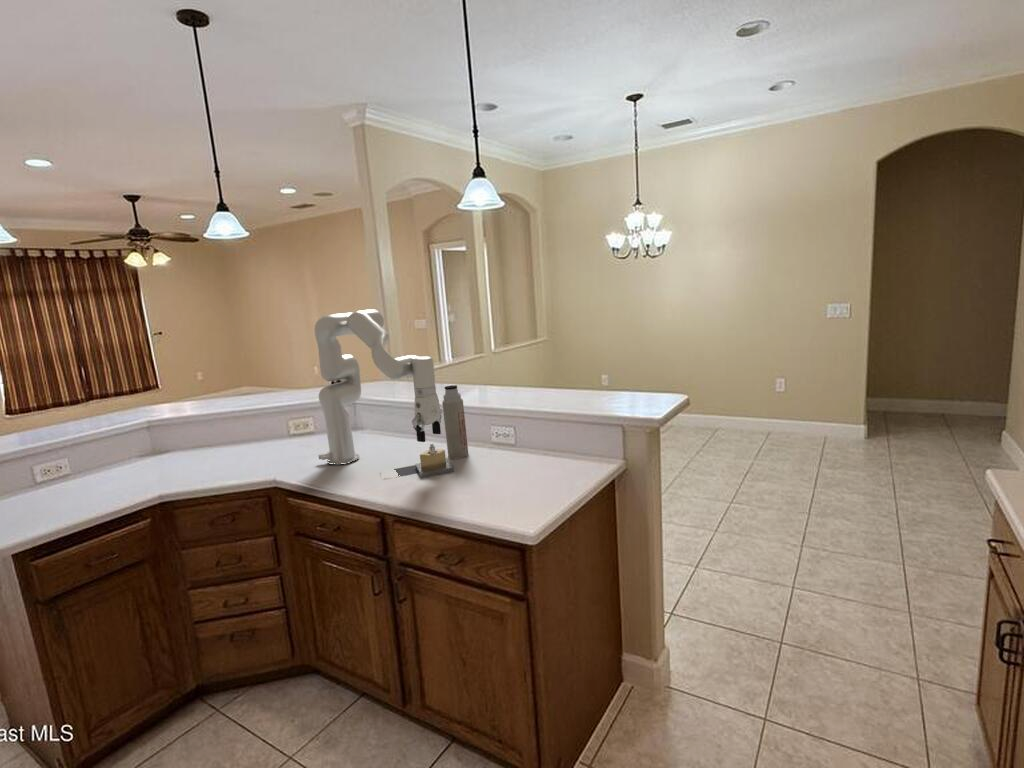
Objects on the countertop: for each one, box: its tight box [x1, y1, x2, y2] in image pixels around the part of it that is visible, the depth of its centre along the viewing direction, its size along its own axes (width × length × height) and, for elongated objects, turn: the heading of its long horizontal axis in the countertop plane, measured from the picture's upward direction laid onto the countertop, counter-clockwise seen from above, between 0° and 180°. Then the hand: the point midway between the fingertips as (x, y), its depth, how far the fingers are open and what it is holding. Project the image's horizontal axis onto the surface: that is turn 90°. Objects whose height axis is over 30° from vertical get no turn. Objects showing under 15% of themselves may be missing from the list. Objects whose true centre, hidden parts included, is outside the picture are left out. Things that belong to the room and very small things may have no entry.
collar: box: [419, 448, 446, 469], centre depth 193 cm, size 6×6×5 cm
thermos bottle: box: [441, 384, 469, 459], centre depth 207 cm, size 8×8×28 cm
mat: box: [393, 464, 419, 478], centre depth 194 cm, size 14×10×1 cm
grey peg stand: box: [414, 443, 455, 479], centre depth 193 cm, size 12×12×10 cm
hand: (429, 437), depth 192 cm, fingers open, 9 cm apart
